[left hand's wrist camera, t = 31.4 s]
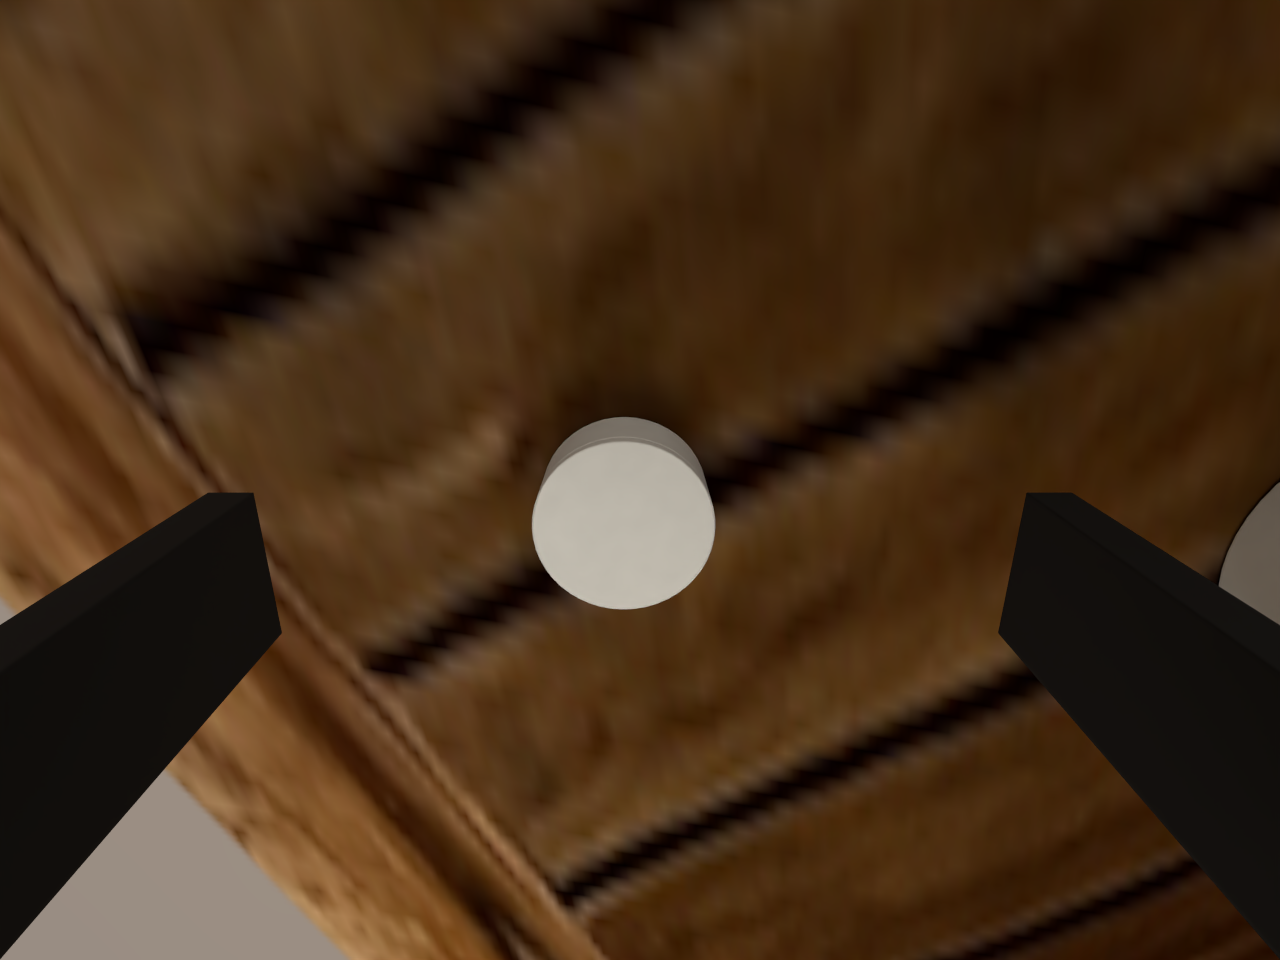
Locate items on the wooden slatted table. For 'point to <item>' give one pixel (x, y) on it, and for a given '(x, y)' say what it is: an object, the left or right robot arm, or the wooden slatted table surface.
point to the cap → (623, 514)
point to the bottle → (1257, 559)
